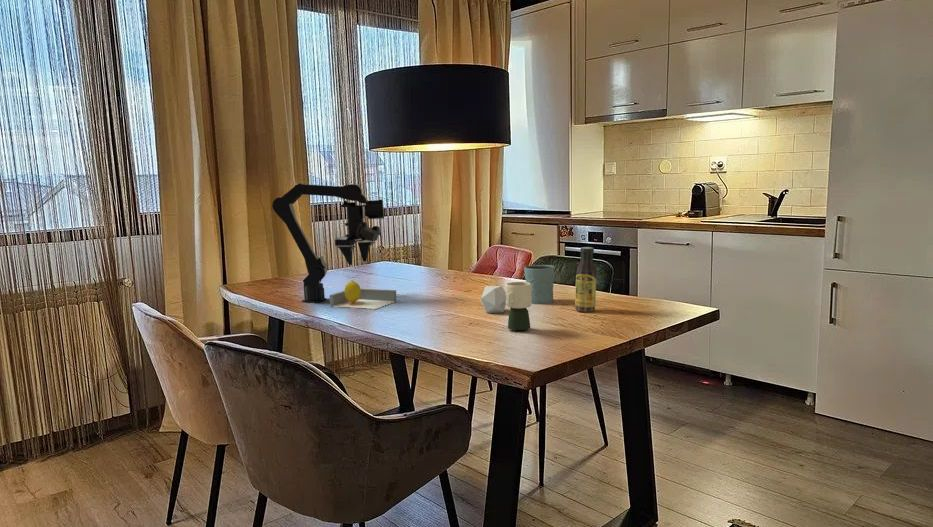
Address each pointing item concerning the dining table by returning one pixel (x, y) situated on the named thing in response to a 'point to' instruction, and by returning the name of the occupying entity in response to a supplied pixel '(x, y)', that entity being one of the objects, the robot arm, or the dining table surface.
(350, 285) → the lemon
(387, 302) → the arena
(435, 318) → the dining table surface
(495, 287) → the die
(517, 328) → the character mug
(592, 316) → the dining table surface
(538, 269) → the blue grey cup
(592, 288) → the sauce bottle
